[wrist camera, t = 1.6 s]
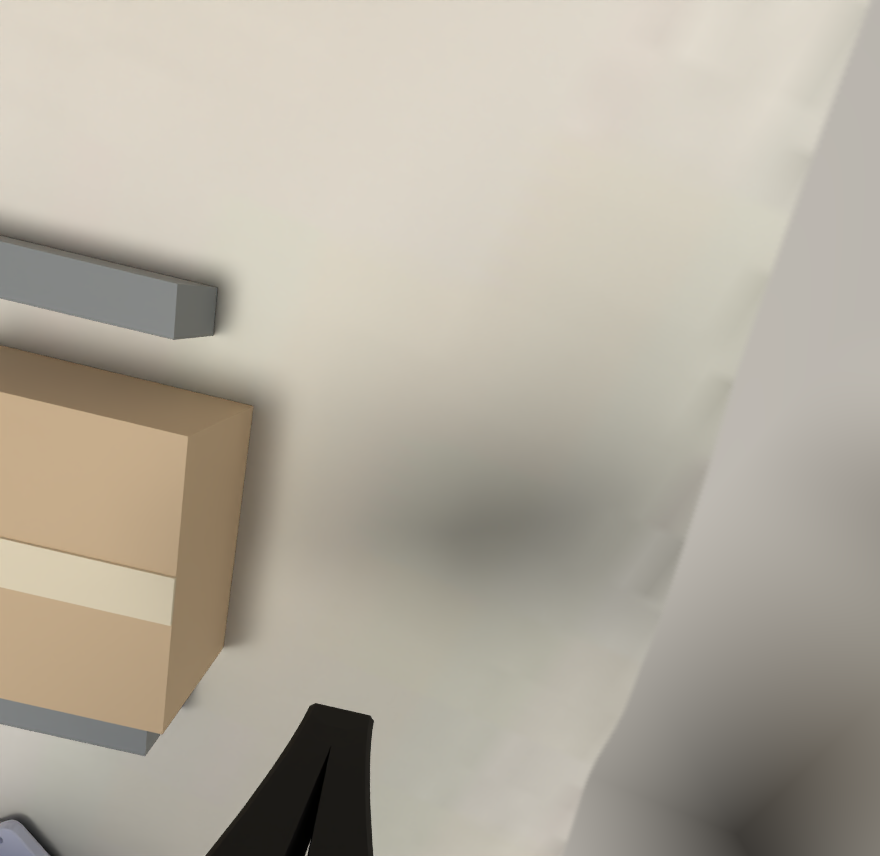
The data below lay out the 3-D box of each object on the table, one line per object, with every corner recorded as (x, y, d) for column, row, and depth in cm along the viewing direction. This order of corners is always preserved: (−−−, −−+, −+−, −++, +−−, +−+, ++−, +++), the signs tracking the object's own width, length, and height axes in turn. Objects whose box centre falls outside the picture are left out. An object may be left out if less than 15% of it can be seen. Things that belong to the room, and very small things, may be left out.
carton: (258, 403, 15) (186, 437, 11) (227, 641, 18) (160, 736, 14) (-4, 341, 15) (-172, 352, 11) (5, 590, 17) (-128, 672, 13)
